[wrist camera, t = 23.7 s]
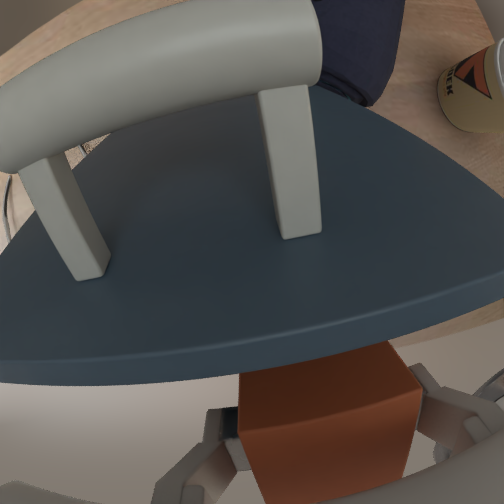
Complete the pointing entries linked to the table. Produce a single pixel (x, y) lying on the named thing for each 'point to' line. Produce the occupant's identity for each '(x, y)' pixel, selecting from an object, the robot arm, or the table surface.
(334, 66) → the portable speaker
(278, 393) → the block
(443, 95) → the coffee cup
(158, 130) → the lid
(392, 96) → the table surface
